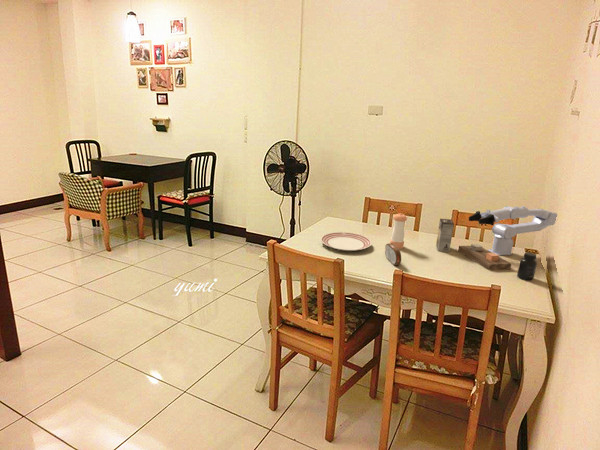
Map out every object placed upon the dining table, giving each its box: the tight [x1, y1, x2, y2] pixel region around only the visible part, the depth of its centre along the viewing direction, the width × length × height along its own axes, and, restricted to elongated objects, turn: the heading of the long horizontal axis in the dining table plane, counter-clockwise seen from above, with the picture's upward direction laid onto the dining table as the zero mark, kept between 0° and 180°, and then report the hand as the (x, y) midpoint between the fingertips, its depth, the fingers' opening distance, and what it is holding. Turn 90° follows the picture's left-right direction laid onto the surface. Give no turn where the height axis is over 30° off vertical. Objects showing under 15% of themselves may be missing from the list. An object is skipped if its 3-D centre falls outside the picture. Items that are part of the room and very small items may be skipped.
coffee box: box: [435, 218, 455, 253], centre depth 215 cm, size 9×6×16 cm
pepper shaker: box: [389, 212, 408, 250], centre depth 215 cm, size 7×7×19 cm
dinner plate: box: [320, 231, 372, 252], centre depth 215 cm, size 27×27×3 cm
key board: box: [457, 245, 512, 271], centre depth 204 cm, size 12×26×3 cm, turn 11°
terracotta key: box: [486, 252, 500, 261], centre depth 197 cm, size 4×4×3 cm
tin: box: [384, 242, 402, 266], centre depth 194 cm, size 15×3×8 cm, turn 9°
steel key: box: [470, 243, 484, 252], centre depth 209 cm, size 4×4×3 cm
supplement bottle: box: [516, 251, 538, 282], centre depth 182 cm, size 7×7×12 cm
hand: (474, 220), depth 205 cm, fingers open, 7 cm apart
